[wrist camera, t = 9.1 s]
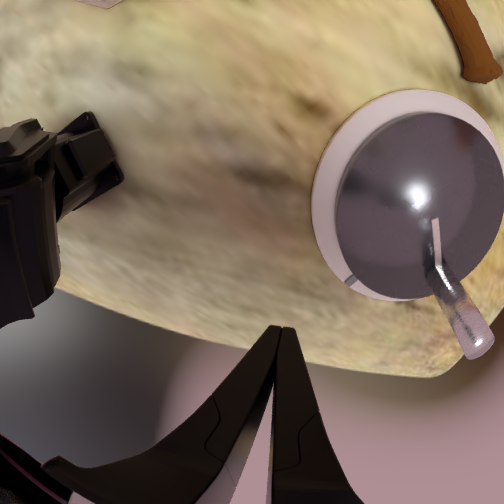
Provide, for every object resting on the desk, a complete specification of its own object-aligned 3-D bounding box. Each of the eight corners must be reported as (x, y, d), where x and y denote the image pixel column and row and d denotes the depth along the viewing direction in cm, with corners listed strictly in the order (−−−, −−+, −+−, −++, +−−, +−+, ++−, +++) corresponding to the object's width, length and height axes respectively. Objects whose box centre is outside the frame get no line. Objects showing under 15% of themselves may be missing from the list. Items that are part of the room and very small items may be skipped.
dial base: (339, 316, 27) (341, 325, 26) (275, 125, 18) (275, 127, 17) (496, 260, 22) (502, 268, 21) (486, 77, 14) (496, 78, 13)
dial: (457, 295, 23) (497, 367, 15) (313, 281, 23) (327, 378, 15) (515, 148, 15) (592, 193, 7) (357, 84, 15) (427, 88, 7)
